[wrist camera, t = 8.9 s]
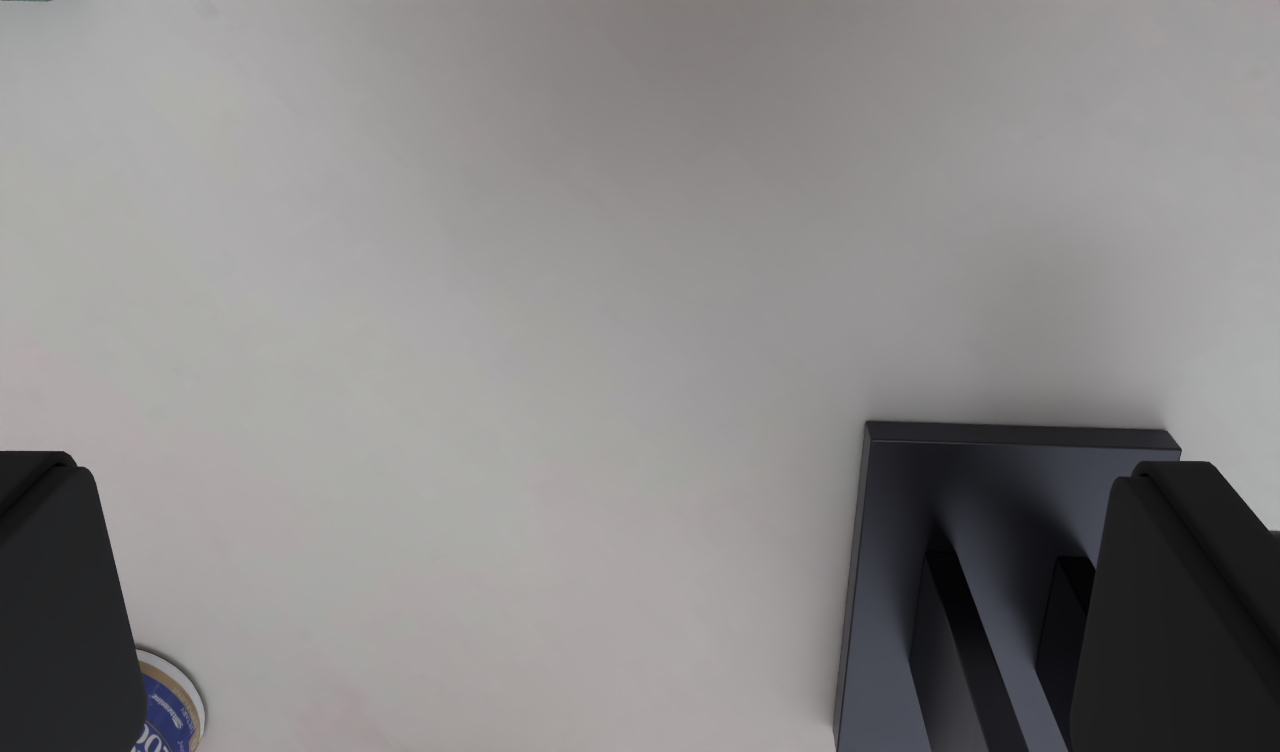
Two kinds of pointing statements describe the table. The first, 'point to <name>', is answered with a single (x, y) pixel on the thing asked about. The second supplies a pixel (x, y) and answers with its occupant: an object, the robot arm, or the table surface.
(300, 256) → the table surface
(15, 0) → the button box
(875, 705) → the bracket
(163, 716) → the pill bottle
